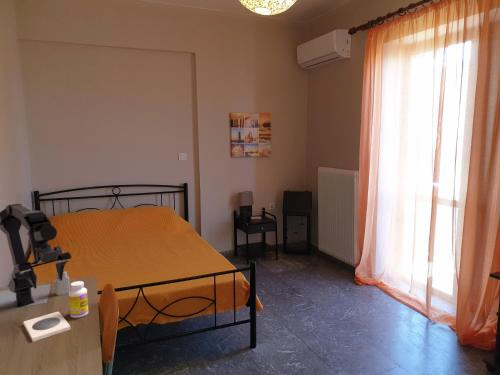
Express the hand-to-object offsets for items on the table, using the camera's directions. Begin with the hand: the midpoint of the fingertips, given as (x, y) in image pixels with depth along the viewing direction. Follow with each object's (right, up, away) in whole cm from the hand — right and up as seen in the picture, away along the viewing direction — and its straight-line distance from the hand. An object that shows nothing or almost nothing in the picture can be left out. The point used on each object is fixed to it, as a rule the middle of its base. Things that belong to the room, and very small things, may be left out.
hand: (48, 284), depth 138 cm
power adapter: (-8, -11, +26) cm, 30 cm away
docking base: (+1, -15, -4) cm, 15 cm away
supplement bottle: (+9, -14, +6) cm, 17 cm away
